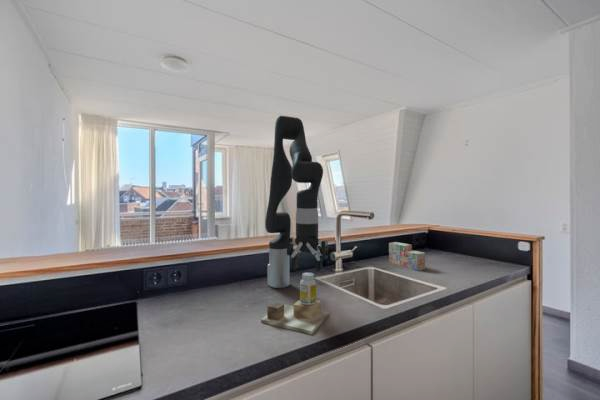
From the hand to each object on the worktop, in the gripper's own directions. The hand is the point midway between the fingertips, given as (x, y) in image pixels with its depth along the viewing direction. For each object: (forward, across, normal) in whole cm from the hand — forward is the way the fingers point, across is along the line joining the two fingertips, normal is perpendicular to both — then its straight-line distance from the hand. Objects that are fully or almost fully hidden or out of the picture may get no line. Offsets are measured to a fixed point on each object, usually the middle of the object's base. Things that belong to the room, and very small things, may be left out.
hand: (306, 269), depth 93 cm
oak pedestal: (+16, 0, 0) cm, 16 cm away
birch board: (+16, +3, +3) cm, 17 cm away
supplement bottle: (+11, 0, 0) cm, 11 cm away
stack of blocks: (+17, -22, -86) cm, 91 cm away
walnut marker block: (+16, +8, +7) cm, 19 cm away
